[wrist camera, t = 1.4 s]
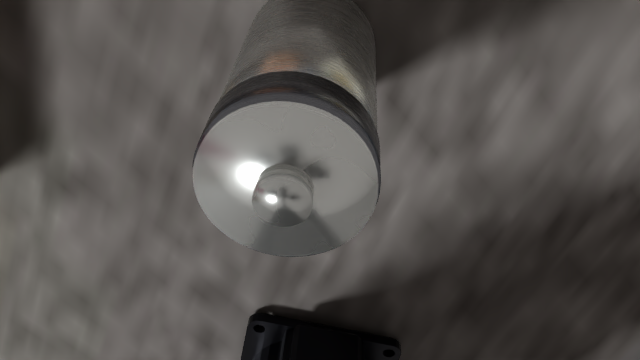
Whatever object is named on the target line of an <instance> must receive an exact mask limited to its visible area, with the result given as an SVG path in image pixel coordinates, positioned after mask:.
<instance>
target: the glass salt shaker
mask: <svg viewBox="0 0 640 360" xmlns="http://www.w3.org/2000/svg"><path fill="white" fill-rule="evenodd" d="M380 184H381V174H380V145H379V138H378V133H377V97H376V48H375V38H374V33H373V30H372V27H371V24H370V22H369V20H368V19H367V17H366V15H365V14H364V13H363V11H362V10H361V9H360V8H359V7H358V6H357V4H356V3H354V2H353V1H352V0H269V1H268V2H267V3H266V4H265V5H264V6H263V7H262V8H261V9H260V11H259V12H258V13H257V15H256V17H255V19H254V21H253V23H252V26H251V28H250V30H249V33H248V35H247V37H246V40H245V42H244V44H243V47H242V49H241V51H240V54H239V56H238V58H237V61H236V63H235V65H234V68H233V70H232V72H231V74H230V77H229V79H228V81H227V84H226V86H225V88H224V91H223V93H222V95H221V98H220V100H219V102H218V103H217V104H216V106H215V108H214V109H213V111H212V113H211V115H210V117H209V120H208V122H207V124H206V127H205V129H204V131H203V133H202V136H201V138H200V140H199V143H198V145H197V148H196V151H195V154H194V159H193V185H194V190H195V194H196V197H197V200H198V202H199V204H200V206H201V208H202V210H203V211H204V213H205V214H206V216H207V217H208V218H209V219H210V221H211V222H212V223H213V224H214V225H215V226H216V227H217V228H218V229H219V230H220V231H221V232H223V233H224V234H225V235H227V236H228V237H229V238H231V239H232V240H234V241H236V242H237V243H239V244H241V245H243V246H246V247H248V248H250V249H253V250H256V251H258V252H262V253H266V254H270V255H276V256H285V257H302V256H310V255H316V254H320V253H324V252H327V251H330V250H332V249H335V248H337V247H339V246H341V245H343V244H345V243H346V242H347V241H349V240H350V239H352V238H353V237H354V236H355V235H357V234H358V233H359V232H360V231H361V230H362V229H363V227H364V226H365V225H366V224H367V222H368V221H369V219H370V217H371V216H372V213H373V211H374V209H375V206H376V204H377V201H378V197H379V193H380Z"/></svg>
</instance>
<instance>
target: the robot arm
mask: <svg viewBox="0 0 640 360" xmlns="http://www.w3.org/2000/svg"><path fill="white" fill-rule="evenodd" d="M400 355H401V345H400V343H399V341H397V340H396V339H393V338H389V337H383V336H378V335H373V334H368V333H362V332H357V331H352V330H347V329H341V328H336V327H331V326H326V325H320V324H315V323H310V322H305V321H299V320H294V319H289V318H284V317H278V316H273V315H268V314H263V313H257V314H253V315H252V316H250V318H249V321H248V326H247V331H246V336H245V341H244V346H243V351H242V356H241V360H399V358H400Z"/></svg>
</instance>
